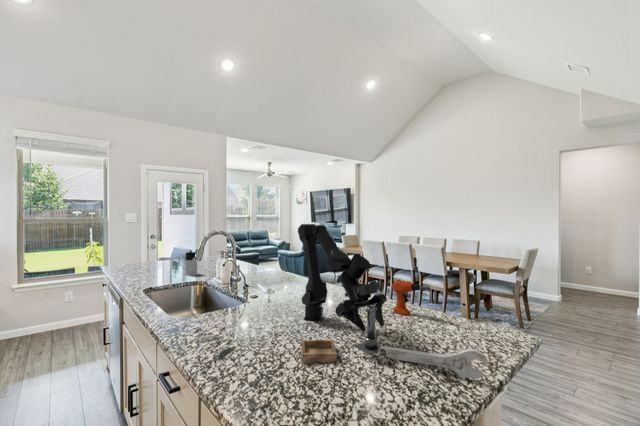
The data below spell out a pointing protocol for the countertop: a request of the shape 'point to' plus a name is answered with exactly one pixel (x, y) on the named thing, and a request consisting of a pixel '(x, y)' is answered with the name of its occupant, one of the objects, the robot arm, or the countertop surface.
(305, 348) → the tray
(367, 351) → the mat
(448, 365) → the wrench
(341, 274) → the robot arm
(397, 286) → the toy drill
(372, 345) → the chuck key
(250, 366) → the countertop surface
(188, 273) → the grey container
